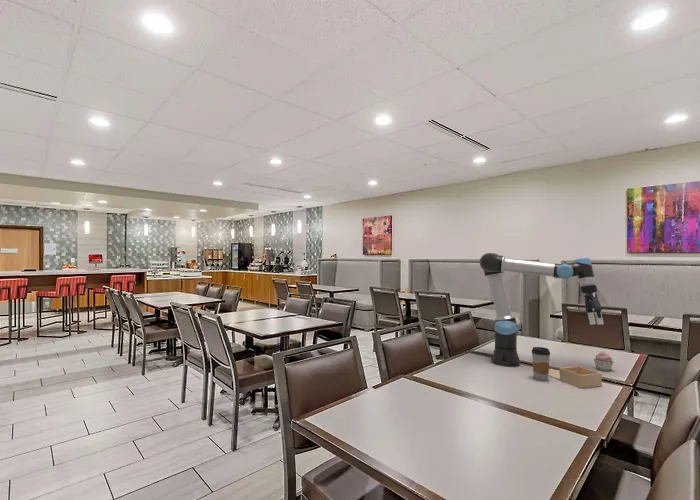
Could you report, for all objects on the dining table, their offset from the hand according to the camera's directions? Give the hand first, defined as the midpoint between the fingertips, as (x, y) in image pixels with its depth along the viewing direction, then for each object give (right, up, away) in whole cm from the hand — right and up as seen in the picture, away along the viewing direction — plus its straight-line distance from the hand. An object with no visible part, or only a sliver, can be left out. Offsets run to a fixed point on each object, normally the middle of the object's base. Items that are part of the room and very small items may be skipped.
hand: (596, 324), depth 195 cm
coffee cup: (-38, -24, -15) cm, 48 cm away
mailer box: (-25, -24, -13) cm, 37 cm away
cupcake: (+6, -25, +2) cm, 26 cm away
